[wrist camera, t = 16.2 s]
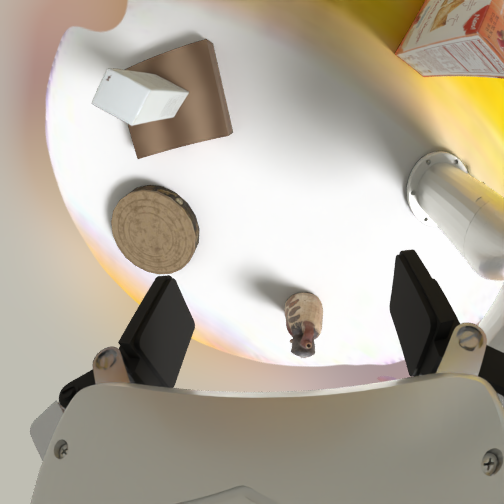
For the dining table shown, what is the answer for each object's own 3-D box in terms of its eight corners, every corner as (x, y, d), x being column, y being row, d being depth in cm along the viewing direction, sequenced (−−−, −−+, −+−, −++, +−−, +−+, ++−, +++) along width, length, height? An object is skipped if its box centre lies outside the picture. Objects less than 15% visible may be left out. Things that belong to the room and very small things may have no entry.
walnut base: (214, 44, 30) (206, 39, 26) (233, 132, 37) (228, 135, 33) (129, 74, 32) (115, 73, 29) (149, 153, 40) (137, 159, 36)
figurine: (279, 313, 53) (276, 362, 43) (292, 287, 49) (292, 337, 39) (312, 322, 53) (315, 371, 43) (328, 297, 50) (334, 347, 39)
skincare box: (140, 100, 31) (89, 103, 21) (155, 73, 29) (106, 66, 19) (174, 119, 32) (131, 127, 22) (191, 92, 31) (151, 88, 20)
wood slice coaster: (106, 201, 45) (97, 208, 42) (177, 170, 40) (169, 176, 38) (144, 271, 52) (137, 280, 50) (214, 255, 48) (210, 264, 45)
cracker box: (423, -4, 19) (502, -40, 1) (453, 21, 20) (541, 5, 2) (390, 53, 26) (477, 30, 9) (423, 78, 27) (520, 83, 10)
